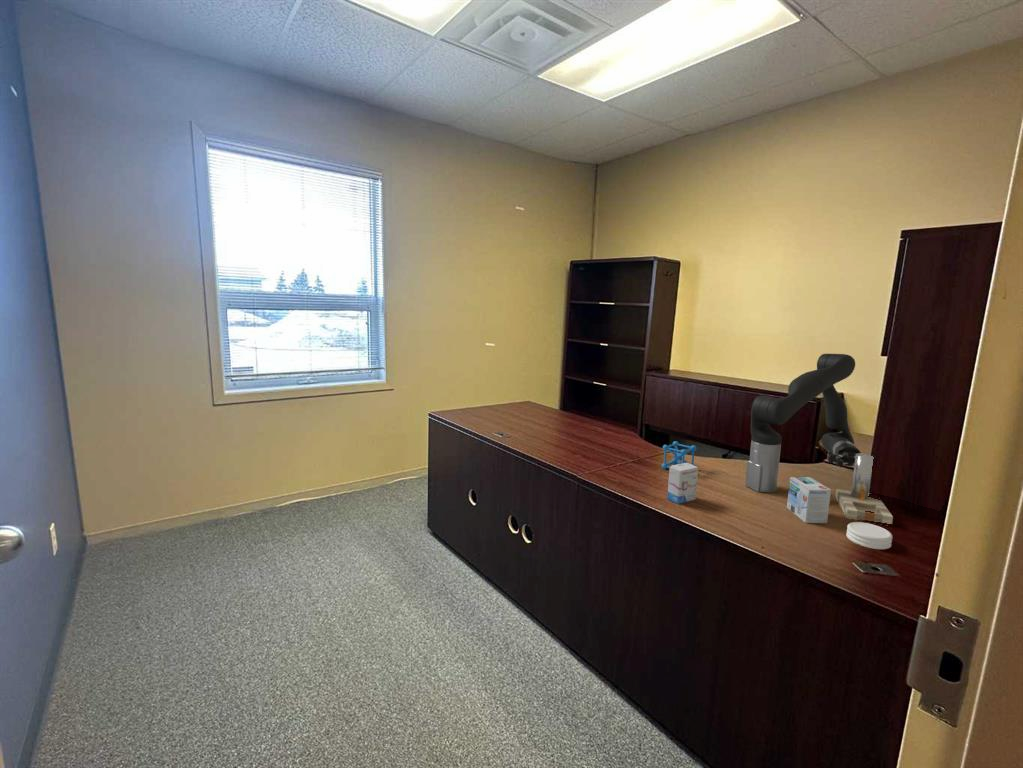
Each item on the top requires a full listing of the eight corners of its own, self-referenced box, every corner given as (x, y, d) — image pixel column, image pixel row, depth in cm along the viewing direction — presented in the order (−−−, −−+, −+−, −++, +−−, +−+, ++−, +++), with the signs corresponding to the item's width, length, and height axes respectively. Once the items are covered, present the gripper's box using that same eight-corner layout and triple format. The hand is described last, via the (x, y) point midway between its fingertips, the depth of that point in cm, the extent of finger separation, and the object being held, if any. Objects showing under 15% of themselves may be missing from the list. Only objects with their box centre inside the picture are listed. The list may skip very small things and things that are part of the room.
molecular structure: (683, 475, 178) (685, 450, 177) (660, 468, 186) (661, 444, 184) (696, 469, 185) (697, 445, 183) (673, 463, 192) (674, 440, 191)
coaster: (871, 532, 134) (872, 521, 133) (900, 550, 124) (902, 538, 123) (837, 532, 134) (838, 521, 133) (864, 550, 124) (866, 538, 123)
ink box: (678, 504, 152) (680, 470, 150) (666, 499, 156) (668, 465, 155) (696, 499, 156) (698, 466, 154) (684, 494, 160) (686, 461, 158)
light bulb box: (785, 508, 150) (789, 476, 148) (807, 508, 149) (810, 476, 148) (805, 523, 139) (809, 489, 137) (828, 523, 139) (832, 489, 137)
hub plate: (891, 526, 137) (893, 516, 137) (846, 518, 142) (847, 509, 141) (875, 503, 153) (876, 494, 153) (835, 497, 158) (836, 488, 157)
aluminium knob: (870, 501, 147) (876, 459, 145) (853, 499, 149) (858, 457, 147) (866, 495, 152) (871, 454, 150) (849, 492, 154) (854, 452, 152)
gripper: (824, 440, 173) (833, 452, 159) (871, 445, 167) (884, 458, 153) (822, 459, 174) (830, 473, 160) (868, 465, 168) (881, 480, 154)
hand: (857, 466), depth 156 cm, fingers open, 8 cm apart
